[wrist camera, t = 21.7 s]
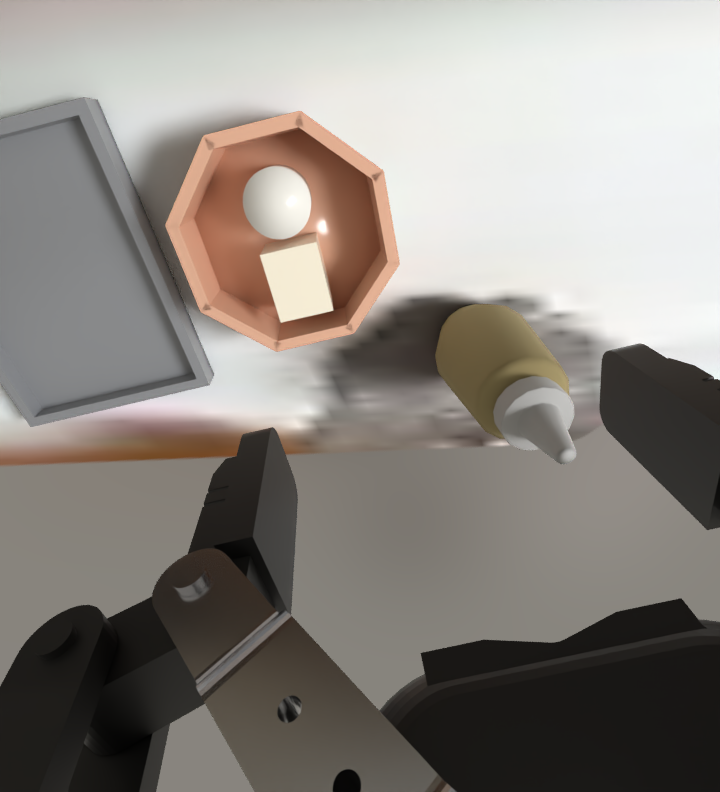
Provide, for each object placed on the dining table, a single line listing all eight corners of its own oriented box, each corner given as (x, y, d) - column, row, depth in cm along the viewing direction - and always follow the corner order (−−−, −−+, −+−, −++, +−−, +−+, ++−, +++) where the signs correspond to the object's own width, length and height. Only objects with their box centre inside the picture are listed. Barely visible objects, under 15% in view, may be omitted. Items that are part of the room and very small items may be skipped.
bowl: (160, 151, 32) (135, 152, 28) (362, 99, 32) (369, 92, 27) (232, 340, 39) (222, 364, 35) (399, 300, 39) (409, 320, 34)
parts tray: (-128, 158, 31) (-155, 159, 29) (97, 99, 30) (84, 97, 29) (43, 415, 41) (30, 427, 39) (214, 374, 41) (209, 385, 39)
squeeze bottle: (510, 372, 43) (621, 504, 27) (425, 379, 43) (488, 518, 27) (520, 286, 39) (656, 383, 23) (426, 294, 39) (500, 398, 23)
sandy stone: (265, 244, 35) (259, 255, 31) (316, 232, 35) (316, 241, 31) (284, 306, 37) (280, 322, 34) (331, 295, 37) (333, 310, 34)
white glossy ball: (242, 172, 32) (232, 176, 29) (302, 157, 32) (300, 159, 29) (261, 235, 35) (255, 246, 31) (318, 221, 34) (318, 230, 31)
